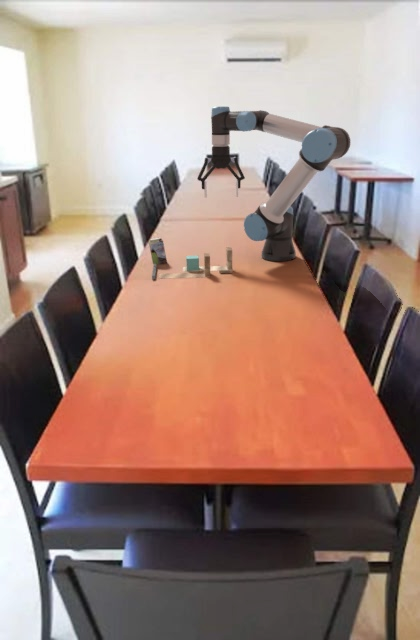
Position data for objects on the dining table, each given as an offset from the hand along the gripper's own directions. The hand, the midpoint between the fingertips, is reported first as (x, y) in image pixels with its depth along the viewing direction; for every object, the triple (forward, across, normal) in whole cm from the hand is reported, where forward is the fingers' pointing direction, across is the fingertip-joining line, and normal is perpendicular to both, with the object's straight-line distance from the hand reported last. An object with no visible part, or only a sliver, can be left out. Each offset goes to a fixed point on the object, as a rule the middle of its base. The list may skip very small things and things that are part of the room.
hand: (221, 196), depth 245 cm
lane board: (+27, +18, +28) cm, 43 cm away
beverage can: (+27, +28, +12) cm, 41 cm away
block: (+25, +14, +24) cm, 38 cm away
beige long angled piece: (+27, +8, +24) cm, 37 cm away
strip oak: (+27, +18, +33) cm, 46 cm away
